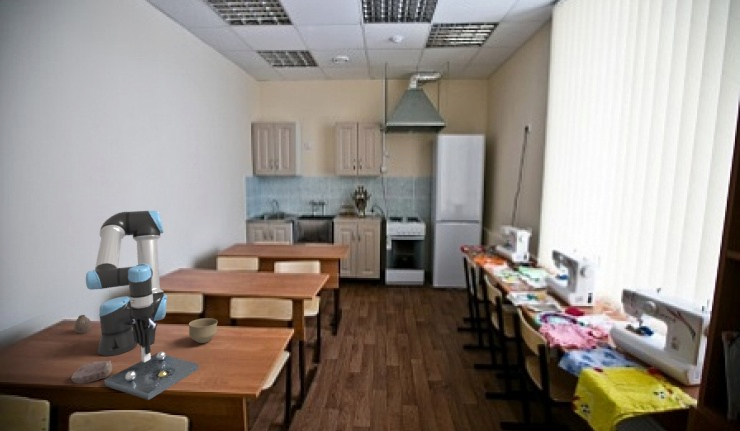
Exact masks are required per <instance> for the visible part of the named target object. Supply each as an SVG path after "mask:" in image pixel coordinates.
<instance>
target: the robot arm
mask: <svg viewBox="0 0 740 431" xmlns="http://www.w3.org/2000/svg"><path fill="white" fill-rule="evenodd" d="M163 233H164V228H163V223H162V217H161V213H160V212H159V211H158V210H137V211H121V212H118V213H115V214H113V215H111V216H110V217H109V218H107V219H106V220H105V221H104V222H103V223H102V225H101V227H100V229H99V236H100V243H99V247H98V251H97V252H98V253H97V257H96V263H95V268H94V269H93V270H89V271H87V272H86V273H85V284H86V287H87V289H88V290H90V291H91V290H105V289H110V288H116V287H117V288H118V287H127V286H128V287H129V296H127V295H126V296H125V295H124V296H123V295H122V296H118V297H114V298H112V299H109V300H106V301H104V302H103V303H101V305H100V306H99V313H98V316H99V321H100V331H101V332H100V333H101V336H100V339H99V342H98V347H97V354H99V356H103V357H104V356H105V357H108V356H116V355H120V354H124V353H127V352H130V351H131V350H133V349H135V348H136V347H137V346H140V354H141V361H142V362H146V361H148V360H150V359H151V356H152V355H151V352H152V350H151V346H152V345H154V344H155V339H156V331H157V326H158V323H157V321H160V320H163V319H165V317H166V313H167V305H168V304H167V303H168V302H167V301H168V295H167V294H165V293H164V290H162V289H161V287H160V284H161V283H160V268H159V252H158V240H159V239H160V238H161V234H163ZM125 236H132V239H133V240H134V241H135V242H136V251H137V253H136V254H137V256H136V257H137V264H136V265H135V266H134V265H133V266H126V267H119V261H120V255H121V247H122V246H121V245H122V239H124V237H125Z"/></svg>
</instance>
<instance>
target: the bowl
mask: <svg viewBox="0 0 740 431" xmlns="http://www.w3.org/2000/svg"><path fill="white" fill-rule="evenodd" d="M188 326H189V328H188V330H189V332H188V334H189V337H190V338H191V339H192V340H194V341H196V342H197V343H198V344H205V343H208V342H209V341H210V340H211V339H213V338H214V337H215V336H216V334H217V332H218V331H217V330H218V327H217V326H218V320H217V319H215V318H211V317H210V318H208V317H207V318H198V319H195V320H191V321H190V322H189V323H188Z"/></svg>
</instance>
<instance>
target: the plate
mask: <svg viewBox="0 0 740 431" xmlns="http://www.w3.org/2000/svg"><path fill="white" fill-rule="evenodd" d="M158 353H159V352H157V353H155V354H152V355H151V359H150V360H148V361H146V362H142V360H141V361H139V362H136V363H134V364H133V365H131V366H129V367H127V368H125V369H123V370H121V371H119V372H116V373H114V374H113V375H111V376H109V377H107V378H104V387H108V388H111V389H114V390H117V391H120V392H123V393H125V394H129V395H132V396H135V397H138V398H140V399H141V398H142V399H143V400H147V401H149V400H151V399H153V398H154V397H156V396H158V395H159V394H161V393H163V392H164V391H166V390H167V389H170V387H172V386H173V385H175V384H177V383H179V382H180V381H182V380H184V379H185V378H186V377H187V378H188V376H190V375H192V374H193V373H195V372H196V371H198V370H199V363H197V362H194V361H190V360H186V359H183V358H178V357H174V356H170V355H167V354H166V357H165V359H163V360H158V359H157V358H156V356H157V354H158ZM130 371H134V372H136V378H135V379H134V380H132V381H127V380H126V378H125V376H126V374H127V373H128V372H130ZM161 371H166V372H167V373H168V374H167V375H165V376H162V377H158V374H159V373H160V372H161Z"/></svg>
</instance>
